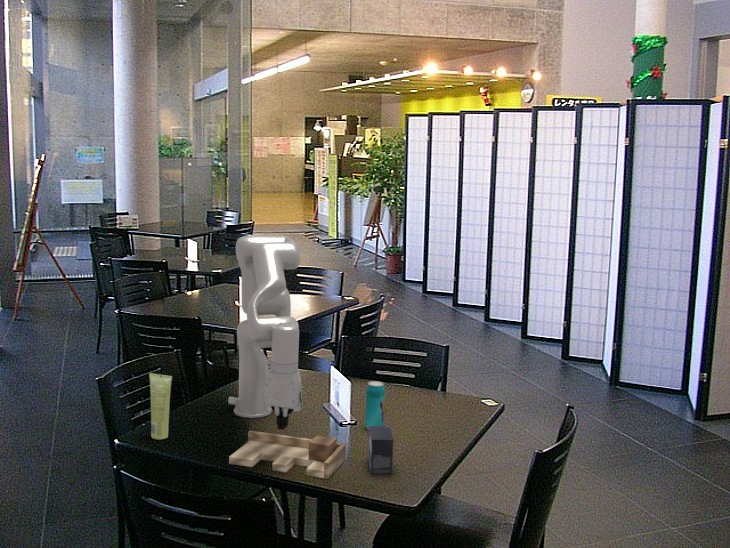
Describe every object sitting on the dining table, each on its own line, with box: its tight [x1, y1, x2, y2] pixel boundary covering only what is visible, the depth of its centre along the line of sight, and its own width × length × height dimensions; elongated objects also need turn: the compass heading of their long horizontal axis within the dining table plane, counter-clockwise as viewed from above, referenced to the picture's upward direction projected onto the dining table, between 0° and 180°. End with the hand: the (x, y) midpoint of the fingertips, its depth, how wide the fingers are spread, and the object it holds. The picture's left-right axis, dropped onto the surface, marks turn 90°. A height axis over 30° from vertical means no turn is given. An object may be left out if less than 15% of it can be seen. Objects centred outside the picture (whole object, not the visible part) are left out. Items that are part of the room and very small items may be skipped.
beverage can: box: [365, 380, 386, 431], centre depth 258 cm, size 6×6×15 cm
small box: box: [367, 425, 395, 476], centre depth 228 cm, size 11×6×10 cm, turn 5°
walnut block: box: [308, 435, 338, 462], centre depth 228 cm, size 6×6×5 cm
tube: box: [148, 372, 173, 440], centre depth 244 cm, size 6×5×20 cm
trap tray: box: [228, 430, 347, 480], centre depth 230 cm, size 30×15×4 cm, turn 74°
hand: (282, 427), depth 233 cm, fingers closed
